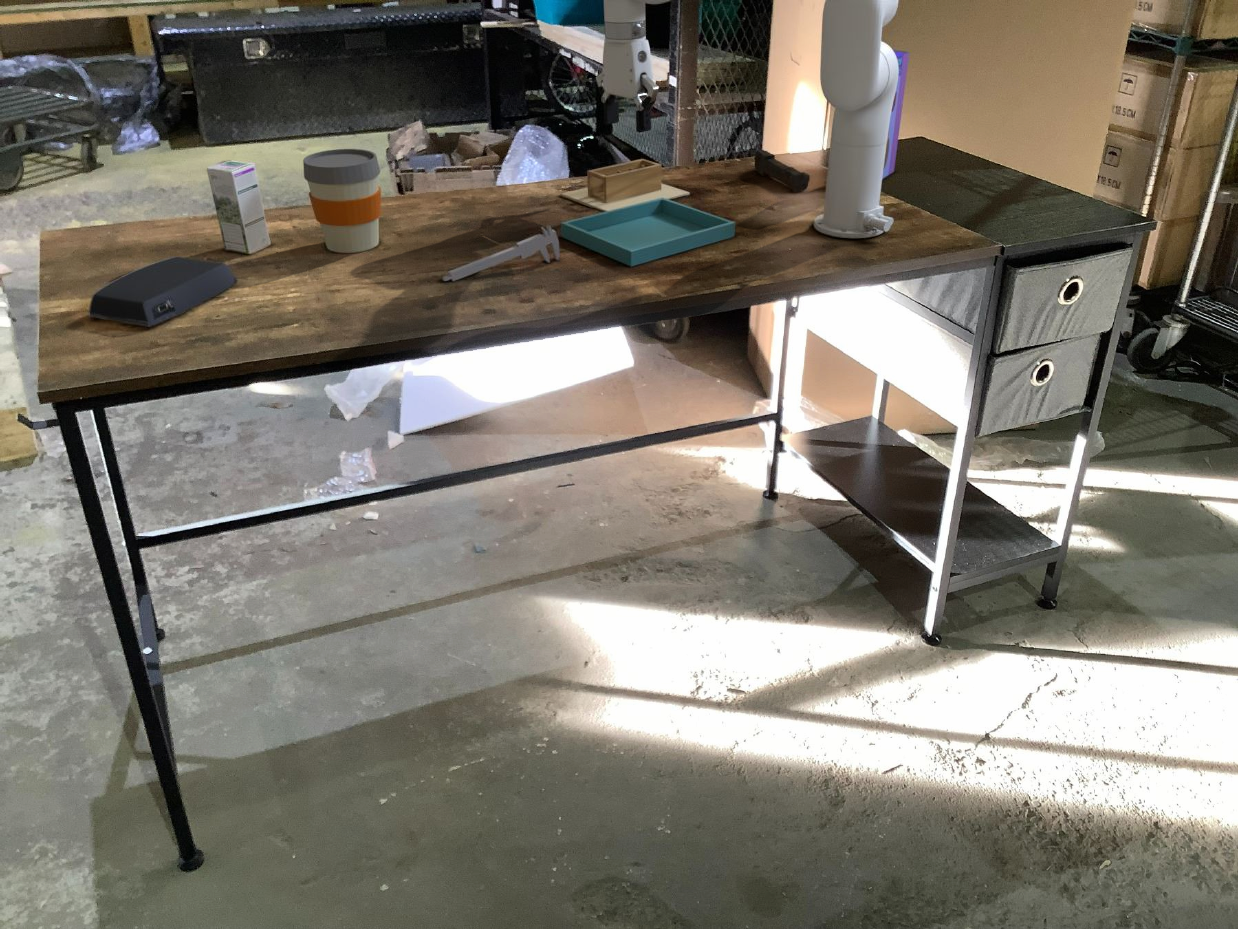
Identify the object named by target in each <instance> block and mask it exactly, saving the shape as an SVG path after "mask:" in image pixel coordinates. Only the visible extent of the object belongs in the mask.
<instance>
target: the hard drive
mask: <svg viewBox="0 0 1238 929" xmlns="http://www.w3.org/2000/svg"><path fill="white" fill-rule="evenodd" d="M238 281H239V280H238V279H237V277H236V275H235V274H234V273H233V271H232V270H231V268H230V267H229V266H228V265H227V264H226V263H223V262H215V261H208V260H201V259H196V258H195V259H194V258H189V257H183V256H177V255H176V256H175V255H174V256H171V257H167V258H165V259H162V260H159V261H156V262H153V263H149V264H147V265H145V266H142V267H140V268H138V269H135V270H133V271H131V272H128V273H126V274H124V275H122V276H120V277H119V278H117V279H114V280H113V281H111V282H109V283H108V284H106V285H104V286H103V287H101V288H99V289H98V290H97V291H95V292H94V293H93V294H92V296H91V298H90V302H89V308H88V317H90V318H95V319H100V320H106V321H112V322H118V323H124V324H129V325H135V326H140V327H146V328H151V327H154V326H157V325H159V324H162V323H163V322H166V321H168V320H171V319H172V318H176V317H177V316H180V315H181V314H183V313H185V312H188V311H190V310H192V309H193V308H196V307H198V306H199V305H201V304H203V303H205V302H207V301H208V300H210V299H212V298H214V297H215V296H218V295H220V294H221V293H223V292H225V291H226V290H228V289H229V288H231V287H232V286H235V285H236V284H237V283H238Z"/></svg>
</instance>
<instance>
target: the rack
mask: <svg viewBox="0 0 1238 929" xmlns="http://www.w3.org/2000/svg"><path fill="white" fill-rule="evenodd" d="M662 166H663V165H662V164H661V163H657V162H654V161H651V160H648V159H644V158H640V159H635V160H631V161H625V162H621V163H617V164H612V165H608V166H607V165H606V166H604V167H599V168H594V169H589V170H587V171H586V178H587V180H586V181H587V182H586V183H587V187H588V196H589V197H594V198H597V199H599V200H602V201H604V202H605V203H609V202H613V201H617V200H621V199H625V198H629V197H633V196H638V195H642V194H646V193H650V192H654V191H658V190H661V183H662V180H663V179H662V178H663V177H662V171H663V170H662V169H663V167H662Z"/></svg>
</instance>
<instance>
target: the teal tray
mask: <svg viewBox="0 0 1238 929" xmlns="http://www.w3.org/2000/svg"><path fill="white" fill-rule="evenodd" d="M560 229H561V230H560V232H561V233H560V234H561V238H563V239H566V240H567V241H570V242H572V243H574V244H577V245H579V246H582V247H585V248H587V249H588V250H591V251H594V252H596V253H597V254H601V255H603V256H606V257H608V258H610V259H612V260H614V261H617V262H620V263H621V264H625V265H627V266H629V267H634V266H638V265H642V264H645V263H649V262H651V261H655V260H660V259H662V258H666V257H669V256H672V255H676V254H679V253H683V252H686V251H689V250H692V249H696V248H700V247H703V246H706V245H710V244H713V243H717V242H720V241H724V240H727V239H731V238H735V235H736V234H735V232H736V222H735V221H732V220H729V219H726V218H724V217H720V216H718V215H715V214H712V213H709V212H706V211H703V210H700V209H697V208H695V207H691V206H688V205H685V204H682V203H680V202H677V201H674V200H672V199H669V200H668V199H665V198H659V199H655V200H651V201H647V202H643V203H639V204H635V205H631V206H627V207H623V208H619V209H615V210H611V211H607V212H604V211H602V212H599V213H595V214H591V215H586V216H583V217H578V218H575V219H570V220H567V221H563V222H561V223H560Z"/></svg>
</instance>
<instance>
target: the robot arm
mask: <svg viewBox="0 0 1238 929" xmlns="http://www.w3.org/2000/svg"><path fill="white" fill-rule="evenodd" d="M671 1H672V0H603V16H604V18H603V19H604V20H603V21H604V41H603V50H602V53H603V54H602V72H599V73H598V75H596V76H595V81H596V84H597V88H598V92H599V94H600V96H601V102H602V103H603V122H604V125H608V126H609V125H614V124H618V123H619V122H620V105H619V100H617V99H618V97H620V98H624V99H625V98H626V99H632V100H633V101H634V103H635V106H636V107H637V110H635V131H636V133H639V134H640V133H644V132H649V131H651V130H652V110H653V109H654V105H655V103H656V102H657V96H658V93H659V91H660V89H659V86H658V85H657V83H656V82H654V74H653V60H652V53H651V48H650V43H649V40H648V39H647V37H646V36H647V34H646V32H647V28H646V25H647V24H646V4H647V5H648V4H649V5H660V4H665V3H668V2H671ZM898 8H899V0H825V1H824V4H823V10H822V18H821V40H820V43H821V44H820V46H821V47H820V65H819V66H820V67H819V69H820V71H819V72H820V73H819V79H820V87H821V91H822V94H823V96H824V99H826V101H827V103H829V105H831V106H832V107H833V108H834V112H833V118H832V124H831V133H830V140H829V141H830V143H829V150H828V151H829V153H828V162H827V163H828V164H827V173H826V182H825V183H826V184H825V194H824V204H823V213H822V214H819V215H817V216H816V217H815V218H814V220H813V227H814V229H815V230H816V231H818V232H819V233H820V234H824V235H825V236H830V237H834V238H840V239H841V238H842V239H867V238H873V237H877V236H879V235H881V234H883V233H887V232H888V231H890V229H891V227H892V225H893V224H894V221H895V220H894V217H890V216H887V215H884V209H885V206H884V205H880V200H881V191H882V184H883V180H882V176H883V168H884V160H885V152H886V144H887V138H888V130H889V123H890V116H891V110H892V105H893V101H894V96H895V92H896V87H897V82H898V74H899V67H898V61H897V57H896V55H895V53H894V51H893V50H894V49H893V48H892V47H891V46H890V45H888V44H887V43H886V42H885V41H882V33H883V28H884V27H885V26H887V25H888V24H889V23H890V22H891V21H892V20H893V19H894V17H895V15H896V13H897V10H898ZM642 99H643V100H642Z"/></svg>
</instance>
